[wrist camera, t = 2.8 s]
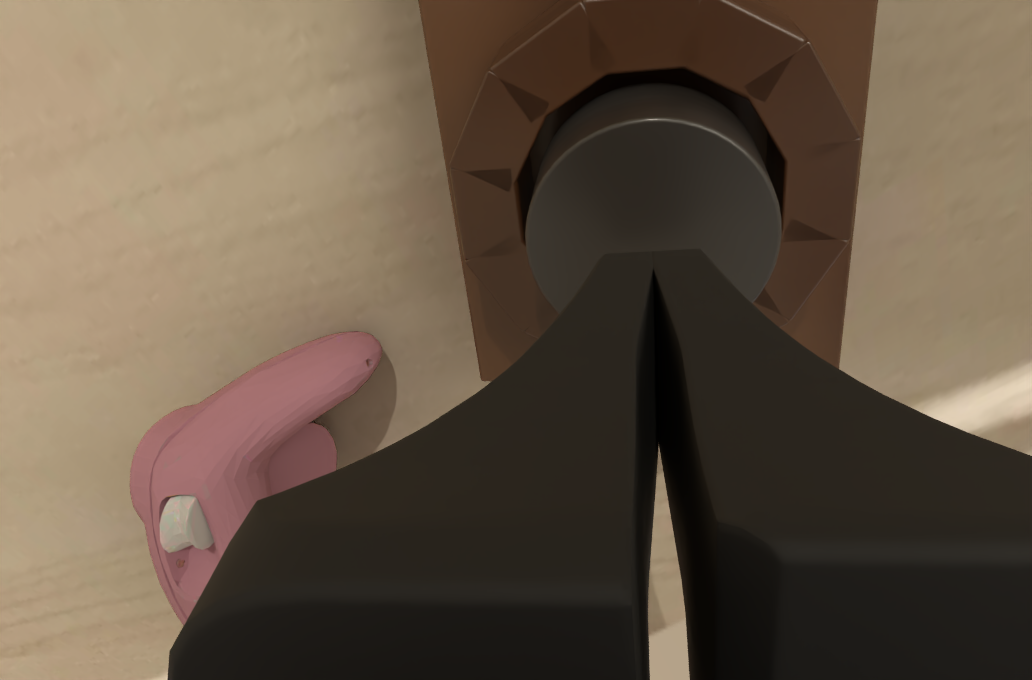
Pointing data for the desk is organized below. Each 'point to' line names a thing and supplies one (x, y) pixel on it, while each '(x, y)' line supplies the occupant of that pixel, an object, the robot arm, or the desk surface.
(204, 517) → the video game controller
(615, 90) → the button
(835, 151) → the brown button base
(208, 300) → the desk surface
